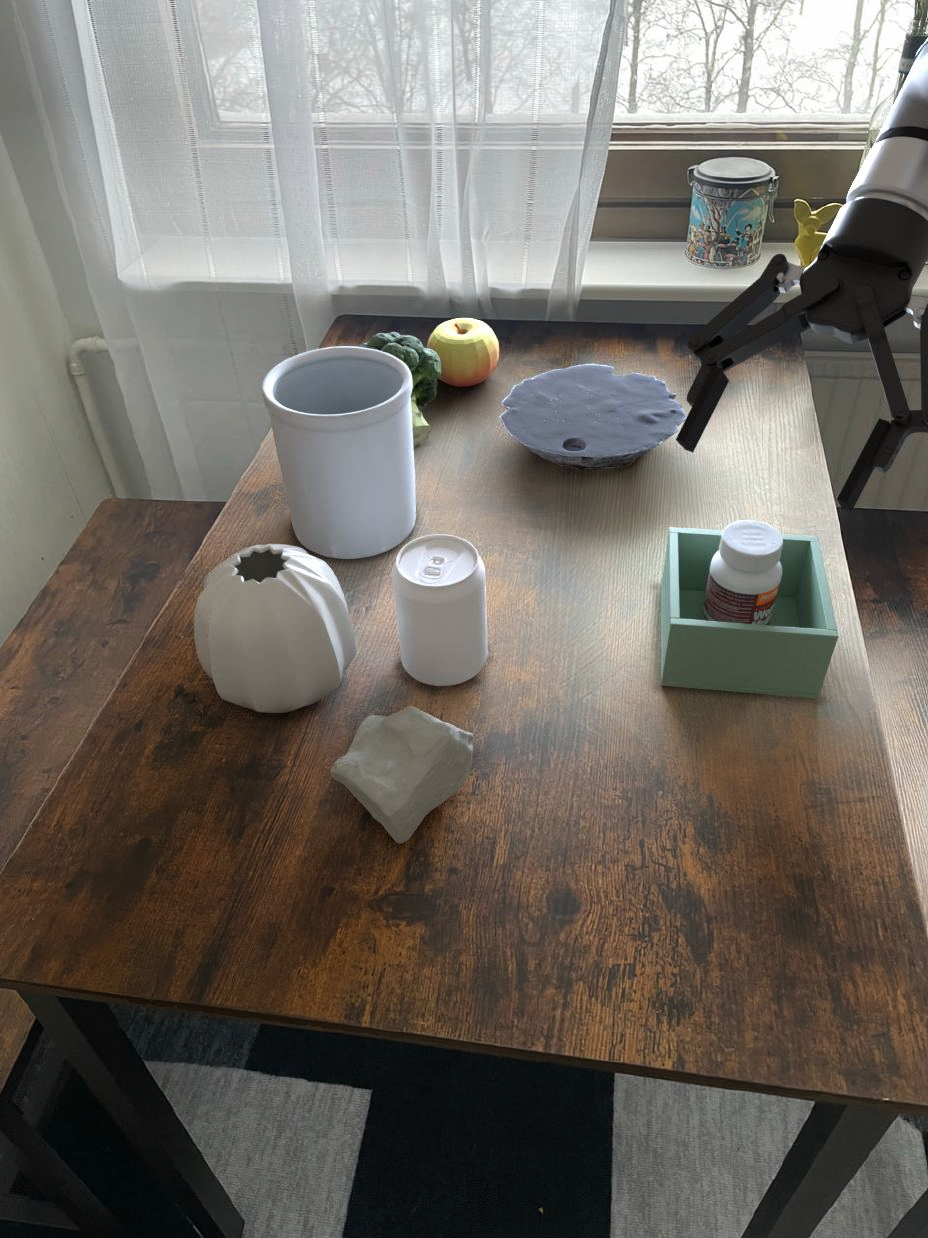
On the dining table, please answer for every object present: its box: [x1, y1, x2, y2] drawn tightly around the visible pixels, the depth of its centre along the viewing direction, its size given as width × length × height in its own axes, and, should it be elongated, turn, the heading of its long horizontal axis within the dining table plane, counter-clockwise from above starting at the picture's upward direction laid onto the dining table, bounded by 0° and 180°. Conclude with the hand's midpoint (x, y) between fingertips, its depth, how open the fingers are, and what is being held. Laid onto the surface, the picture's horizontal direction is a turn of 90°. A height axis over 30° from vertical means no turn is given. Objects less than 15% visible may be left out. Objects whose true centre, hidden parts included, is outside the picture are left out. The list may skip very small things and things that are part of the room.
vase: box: [193, 542, 358, 714], centre depth 81 cm, size 14×14×13 cm
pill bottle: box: [701, 519, 783, 625], centre depth 83 cm, size 6×6×11 cm
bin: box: [660, 526, 839, 700], centre depth 84 cm, size 14×14×8 cm
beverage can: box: [390, 533, 489, 687], centre depth 82 cm, size 8×8×12 cm
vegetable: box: [358, 331, 441, 447], centre depth 115 cm, size 12×13×15 cm
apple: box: [426, 317, 500, 388], centre depth 124 cm, size 10×10×8 cm
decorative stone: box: [329, 705, 475, 845], centre depth 73 cm, size 11×9×10 cm
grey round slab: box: [498, 363, 687, 471], centre depth 111 cm, size 22×22×5 cm
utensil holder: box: [261, 345, 417, 560], centre depth 97 cm, size 15×15×18 cm
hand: (760, 475), depth 72 cm, fingers open, 13 cm apart
